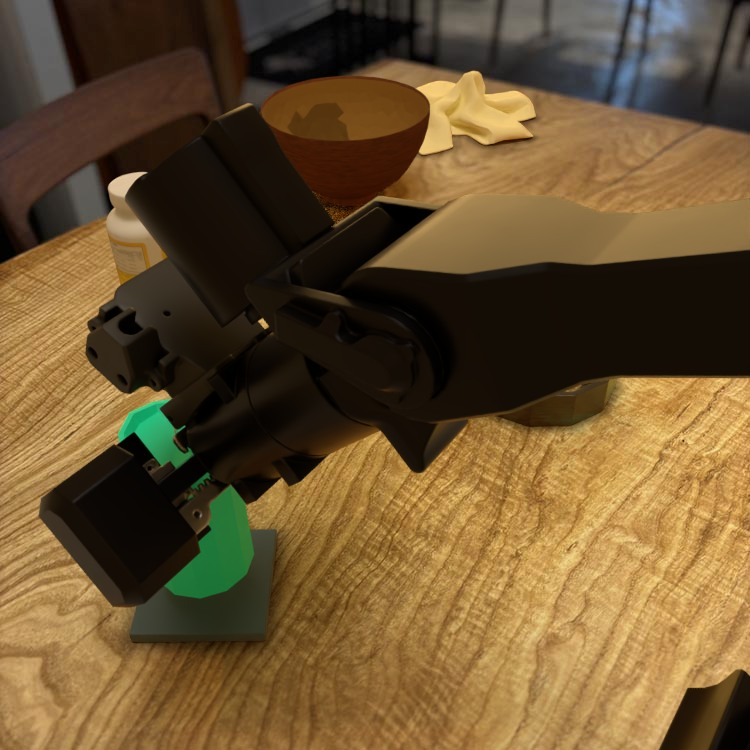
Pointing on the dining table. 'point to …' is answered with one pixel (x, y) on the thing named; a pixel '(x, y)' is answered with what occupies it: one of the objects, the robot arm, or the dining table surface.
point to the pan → (566, 406)
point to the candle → (228, 511)
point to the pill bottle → (129, 233)
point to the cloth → (473, 113)
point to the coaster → (214, 606)
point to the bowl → (349, 133)
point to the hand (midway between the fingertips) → (170, 471)
